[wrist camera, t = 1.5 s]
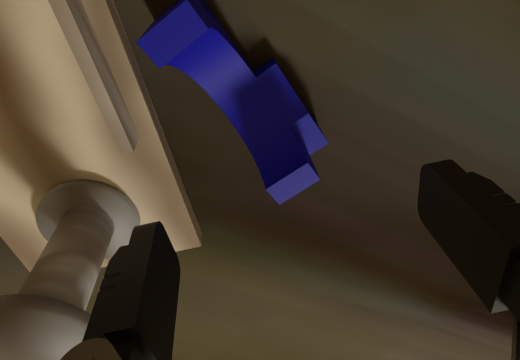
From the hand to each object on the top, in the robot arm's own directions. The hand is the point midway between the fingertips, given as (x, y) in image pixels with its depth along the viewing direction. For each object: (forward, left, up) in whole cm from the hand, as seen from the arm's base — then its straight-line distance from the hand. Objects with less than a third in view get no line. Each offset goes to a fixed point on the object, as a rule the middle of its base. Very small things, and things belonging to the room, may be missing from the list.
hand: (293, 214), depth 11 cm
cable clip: (+1, 0, -15) cm, 15 cm away
